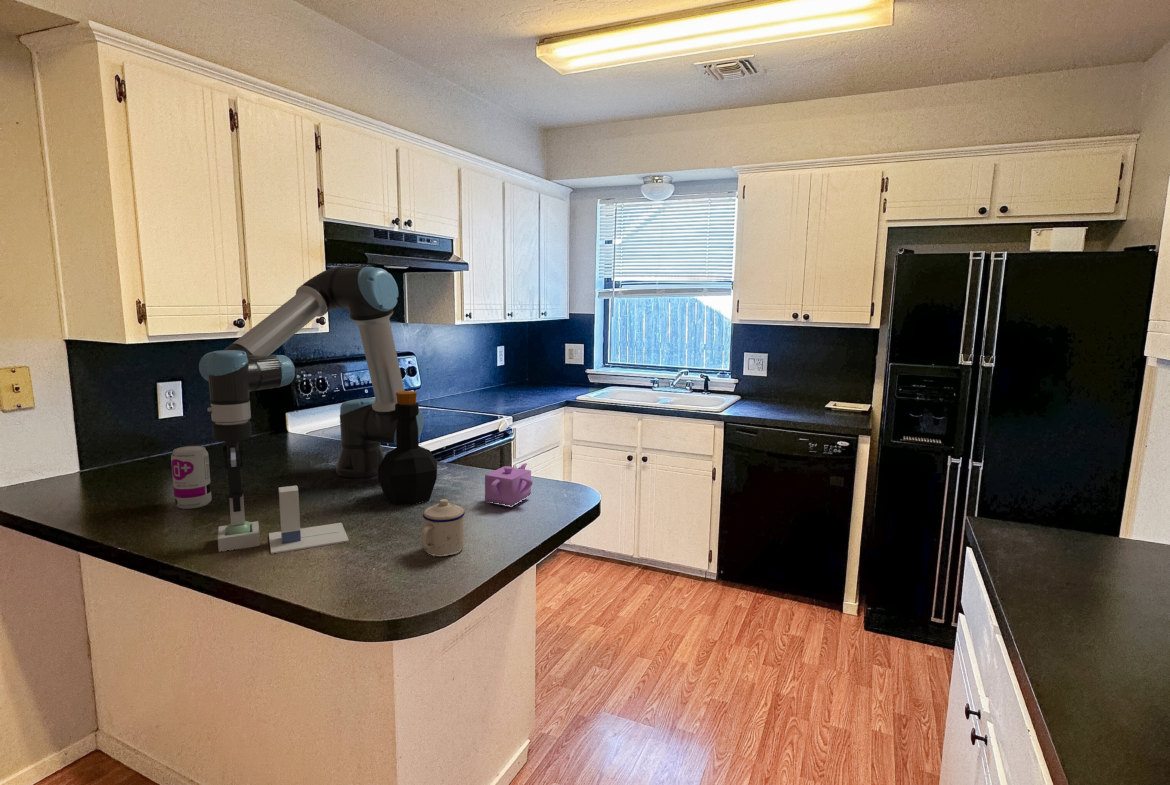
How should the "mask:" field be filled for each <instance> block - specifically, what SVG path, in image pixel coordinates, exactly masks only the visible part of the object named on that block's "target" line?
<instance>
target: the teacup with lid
mask: <svg viewBox="0 0 1170 785" xmlns="http://www.w3.org/2000/svg"><path fill="white" fill-rule="evenodd" d="M465 514H466V513H465V510H464V509H463V507H462V506H459V505H457V504H453V503H451V502H449V500H448V499H447V498H442V499H440V500H439V501H438V503H436V504H434V505H432V506H429V507H427V508H426V509H424V510H423V514H422V517H423V529H422V530H421V531H420V536H419V540H420V544H421V546H422V547H423V548H424V552H425V551H426V552H427V553H430V554H435V555H444V554H450V553H454V552H457V551H459V550H460V549H462V548H463V546H464V545H465V544H464V542H465V541H464V540H465V538H464V537H465V534H464V532H465V530H464V527H465V525H464V524H465V523H464V522H465V521H464V518H465V517H464V516H465ZM464 547H465V546H464ZM463 549H464V548H463ZM426 552H425V553H426ZM427 553H426V554H427Z"/></svg>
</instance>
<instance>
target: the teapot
mask: <svg viewBox="0 0 1170 785" xmlns="http://www.w3.org/2000/svg"><path fill="white" fill-rule="evenodd" d="M527 465H528V463H522V464H521V465H520V467H519V468H518V467H513V466H509V465H508V466H506V465H504V466H502V467H500V468H498V469H495V470H491V471H490V472H488V473H486V474H485V475H484V502H485V501H486V502H493V503H499V504H505V505H510V506H512V505H514V504H515V503H517V502H519V501H520V500H522V499H524V498H526V497H527V496H529V495H530V494H531V495H532V493H531V491H532V486H533V483H534V482H533V480H532V471H531V470H530V469H526V466H527Z"/></svg>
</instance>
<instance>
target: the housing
mask: <svg viewBox="0 0 1170 785" xmlns="http://www.w3.org/2000/svg"><path fill="white" fill-rule="evenodd" d="M248 522H249V523H250V532H248V533H241V534H234V535H228V529H227V525H228V524H226V525H220V526H218V534H217V546H218V553H221V551H222V552H228V551H227V550H229V551H235V550H240V549H241V550H242V549H248V548H254V547H259V546H261V541H260V540H261V539H260V527H259V520H256V521H248ZM234 549H235V550H234Z"/></svg>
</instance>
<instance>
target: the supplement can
mask: <svg viewBox="0 0 1170 785" xmlns="http://www.w3.org/2000/svg"><path fill="white" fill-rule="evenodd" d="M170 461H171V462H170V464H171V472H172V473H171V474H172V487H173V496H174V505H175V507H177V508H179V509H182V510H190V509H198V508H202V507H205V506H207V505H209V504H210V502H212V500H213V499H212V486H211V474H210V470H211V469H210V459H209V452H208V451H207V450H206V447H205V446H202V445H186V446H182V447H177V448H175V449H173V451H172V453H171V455H170Z"/></svg>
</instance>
